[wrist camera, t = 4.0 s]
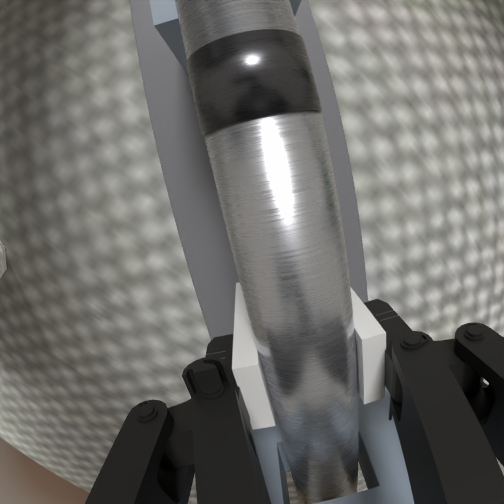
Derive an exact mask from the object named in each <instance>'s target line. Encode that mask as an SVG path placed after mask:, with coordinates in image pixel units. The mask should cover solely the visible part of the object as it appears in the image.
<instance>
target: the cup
mask: <svg viewBox="0 0 504 504" xmlns="http://www.w3.org/2000/svg"><path fill="white" fill-rule="evenodd" d="M6 269H7V265H6V252H5V246H4V245H3V243H2V242H1V240H0V278H1V276H2V275H3V274H4V272H5V271H6Z"/></svg>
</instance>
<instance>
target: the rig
mask: <svg viewBox="0 0 504 504" xmlns="http://www.w3.org/2000/svg"><path fill="white" fill-rule="evenodd" d="M289 2H290V5H291V8H292V11H293V14H294V17H295V20H296V23H297V26H298V30H299V33H300V36H301V37H302V38H303V40H304V43H305V46H306V50H307V53H308V57H309V60H310V64H311V67H312V71H313V75H314V79H315V83H316V86H317V90H318V94H319V98H320V102H321V107H322V112H321V115H322V120H323V124H324V129H325V133H326V138H327V142H328V147H329V152H330V157H331V162H332V167H333V173H334V178H335V183H336V189H337V195H338V201H339V207H340V213H341V219H342V226H343V232H344V239H345V247H346V254H347V262H348V270H349V279H350V287H351V288H352V289H353V291H354V292H355V293H356V294H357V296H358V297H359V298H360V299H361V301H362V302H363V303H365V302H368V295H367V283H366V272H365V262H364V253H363V244H362V236H361V228H360V221H359V214H358V207H357V200H356V194H355V188H354V182H353V176H352V170H351V165H350V160H349V154H348V149H347V144H346V139H345V135H344V130H343V125H342V121H341V116H340V112H339V108H338V103H337V99H336V95H335V91H334V87H333V83H332V80H331V76H330V72H329V68H328V65H327V61H326V58H325V54H324V51H323V47H322V44H321V41H320V38H319V34H318V31H317V28H316V25H315V22H314V19H313V16H312V13H311V10H310V7H309V4H308V1H307V0H289ZM130 6H131V13H132V20H133V26H134V33H135V39H136V45H137V51H138V57H139V62H140V68H141V73H142V79H143V84H144V89H145V94H146V99H147V104H148V109H149V114H150V118H151V123H152V128H153V132H154V137H155V141H156V146H157V150H158V154H159V158H160V163H161V167H162V171H163V175H164V179H165V183H166V187H167V191H168V195H169V199H170V203H171V207H172V210H173V214H174V218H175V222H176V225H177V229H178V233H179V236H180V240H181V243H182V247H183V250H184V254H185V257H186V261H187V264H188V268H189V271H190V274H191V278H192V281H193V284H194V288H195V291H196V294H197V297H198V301H199V304H200V307H201V310H202V313H203V316H204V319H205V322H206V326H207V329H208V332H209V335H210V338H211V340H212V339H213V338H214V337H219V336H224V335H229V334H234V315H235V295H236V283H239V282H240V281H239V277H238V273H237V269H236V265H235V261H234V257H233V253H232V249H231V245H230V241H229V237H228V233H227V229H226V225H225V221H224V217H223V213H222V208H221V204H220V200H219V196H218V192H217V188H216V184H215V179H214V175H213V171H212V167H211V163H210V158H209V154H208V150H207V146H206V141H205V137H203V136H202V133H201V129H200V124H199V120H198V115H197V111H196V107H195V102H194V98H193V93H192V89H191V84H190V80H189V75H188V71H187V66H186V62H187V57H186V52H185V48H184V43H183V38H182V34H181V29H180V24H179V19H178V15H177V10H176V5H175V0H130ZM389 406H390V393H389V392H388V390H387V388H386V386H385V398H383V399H380V400H376V401H373V402H370V403H367V404H364V403H363V401H362V399H361V397H360V394H359V392H358V425H359V440H358V461H359V464H360V467H361V470H362V473H363V476H364V479H365V482H366V485H367V488H368V490H365V491H362V492H358V493H355V494H351V495H347V496H344V497H340V498H336V499H332V500H328V501H323V502H319V503H314V504H414V500H413V495H412V490H411V486H410V481H409V477H408V473H407V469H406V464H405V460H404V456H403V452H402V448H401V445H400V441H399V437H398V433H397V430H396V426H395V422H394V419H393V415H392V420H390V421H389ZM274 416H275V413H274ZM275 425H276V426H272V427H266V428H260V429H254V430H253V429H252V426H251V423H250V431H251V434H252V437H253V439H254V443H255V447H256V451H257V454H258V458H259V462H260V465H261V469H262V473H263V476H264V480H265V483H266V487H267V490H268V494H269V497H270V501H271V504H290V502H289V494H288V486H287V479H286V472H289V471H291V470H290V466H289V463H288V459H287V456H286V452H285V449H284V445H283V442H282V438H281V435H280V431H279V427H278V424H277V420H276V417H275Z"/></svg>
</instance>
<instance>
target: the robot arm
mask: <svg viewBox="0 0 504 504" xmlns="http://www.w3.org/2000/svg"><path fill="white" fill-rule="evenodd" d="M350 288H351V287H350ZM351 297H352V308H353V319H354V331H355V345H356V361H357V382H358V392H359V394H360V397H361V399H362V401H363V403H364V404H367V403H370V402H373V401H376V400H380V399H383V398H385V386H386V388H387V390H388V392H389V393H390V406H389V421H390V420H392V415H393V419H394V422H395V426H396V430H397V433H398V437H399V441H400V445H401V448H402V452H403V456H404V460H405V464H406V469H407V473H408V477H409V481H410V486H411V490H412V495H413V500H414V504H504V476H503V473H502V471H501V469H500V466H499V464H498V462H497V459H498V460H499V461H500V463H501V464H502V465H503V466H504V337H502V336H501V335H499V334H498V333H496V332H495V331H494V330H492V329H491V328H489V327H488V326H486V325H484V324H481V323H467V324H464V325H462V326H460V327H459V328H458V329H457V331H456V333H455V339H449V340H442V341H433V340H432V338H431V337H430V336H429V335H428V334H425V333H423V332H418V331H412V330H411V329H410V328H409V326H408V325H407V324H406V323H405V322H404V321H403V320H402V319H401V318H400V316H398V314H397V313H396V312H395V311H393V309H392V308H391V307H390V305H389V304H388V303H386V302H384V301H381V300H379V299H376V300H372V301H368V302H365V303H363V302H362V301H361V299H360V298H359V297H358V296H357V294H356V293H355V292H354V291H353V289H352V288H351ZM182 377H183V379H184V382H185V384H186V386H187V388H188V391H189V393H190V395H191V399H190V400H188V401H186V402H184V403H182V404H179V405H176V406H173V407H170V408H167V406H166V404H165V403H163V402H162V401H159V400H148V401H144V402H142V403H139V404H138V405H136V406H135V407H134V408H132V410H131V411H130V412H129V414H128V416H127V418H126V420H125V422H124V424H123V426H122V428H121V430H120V432H119V434H118V436H117V438H116V440H115V442H114V444H113V446H112V448H111V450H110V452H109V454H108V456H107V458H106V460H105V462H104V464H103V466H102V469H101V471H100V473H99V475H98V477H97V479H96V481H95V483H94V485H93V488H92V490H91V492H90V494H89V496H88V498H87V501H86V503H85V504H188V499H189V495H190V491H191V487H192V482H193V478H194V474H195V479H196V492H197V503H198V504H271V501H270V497H269V494H268V490H267V487H266V483H265V480H264V476H263V473H262V469H261V465H260V462H259V458H258V454H257V451H256V447H255V443H254V439H253V437H252V434H251V431H250V423H251V426H252V429H253V430H254V429H260V428H266V427H272V426H276V425H275V416H274V409H273V405H272V402H271V398H270V394H269V391H268V387H267V383H266V380H265V376H264V372H263V369H262V365H261V361H260V357H259V354H258V350H257V346H256V343H255V339H254V335H253V331H252V327H251V324H250V320H249V316H248V312H247V308H246V304H245V300H244V297H243V293H242V289H241V285H240V282H239V283H236V295H235V315H234V334H229V335H224V336H219V337H214V338H213V339H212V340H211V342H210V343H209V344H208V346H207V352H206V358H202V359H199V360H196V361H194V362H192V363H191V364H189V365H188V366H187V367H186V368H185V369H184V371H183V374H182ZM483 378H484V379H485V380H486V381H487V382H488V383H489V385H487V384H485V383H484V382H483ZM496 458H497V459H496Z"/></svg>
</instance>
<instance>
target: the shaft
mask: <svg viewBox="0 0 504 504" xmlns="http://www.w3.org/2000/svg"><path fill="white" fill-rule="evenodd" d="M175 5H176V10H177V15H178V19H179V24H180V29H181V34H182V38H183V43H184V48H185V52H186V57H187V62H186V66H187V71H188V75H189V80H190V84H191V89H192V93H193V98H194V102H195V107H196V111H197V115H198V120H199V124H200V129H201V133H202V136H203V137H205V141H206V146H207V150H208V154H209V158H210V163H211V167H212V171H213V175H214V179H215V184H216V188H217V192H218V196H219V200H220V204H221V208H222V213H223V217H224V221H225V225H226V229H227V233H228V237H229V241H230V245H231V249H232V253H233V257H234V261H235V265H236V269H237V273H238V277H239V281H240V285H241V289H242V293H243V297H244V300H245V304H246V308H247V312H248V316H249V320H250V324H251V327H252V331H253V335H254V339H255V343H256V346H257V350H258V354H259V357H260V361H261V365H262V369H263V372H264V376H265V380H266V383H267V387H268V391H269V394H270V398H271V402H272V405H273V409H274V413H275V417H276V420H277V424H278V427H279V431H280V435H281V438H282V442H283V445H284V449H285V452H286V456H287V459H288V463H289V466H290V470H291V473H292V477H293V480H294V484H295V487H296V490H297V494H298V497H299V501H300V504H314V503H319V502H323V501H328V500H332V499H336V498H340V497H344V496H347V495H351V494H355V493H357V481H358V440H359V425H358V382H357V361H356V345H355V331H354V319H353V308H352V297H351V288H350V279H349V270H348V262H347V254H346V247H345V239H344V232H343V226H342V219H341V213H340V207H339V201H338V195H337V189H336V183H335V178H334V173H333V167H332V162H331V157H330V152H329V147H328V142H327V138H326V133H325V129H324V124H323V120H322V115H321V112H322V107H321V102H320V98H319V94H318V90H317V86H316V83H315V79H314V75H313V71H312V67H311V64H310V60H309V57H308V53H307V50H306V46H305V43H304V40H303V38H302V37H301V36H300V33H299V30H298V26H297V23H296V20H295V17H294V14H293V11H292V8H291V5H290V2H289V0H175Z"/></svg>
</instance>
